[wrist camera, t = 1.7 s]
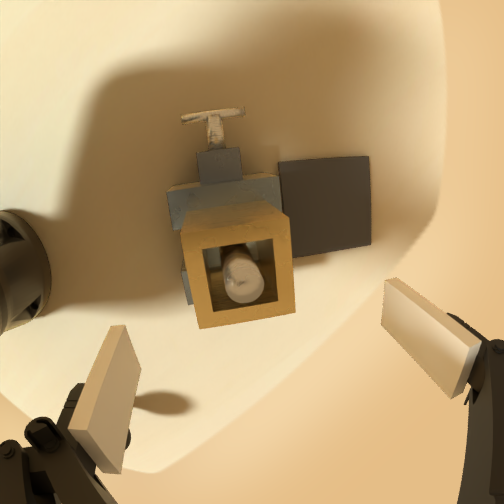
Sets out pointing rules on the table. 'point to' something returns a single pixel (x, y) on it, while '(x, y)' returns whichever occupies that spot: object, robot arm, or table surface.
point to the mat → (326, 203)
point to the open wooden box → (270, 263)
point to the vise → (220, 194)
